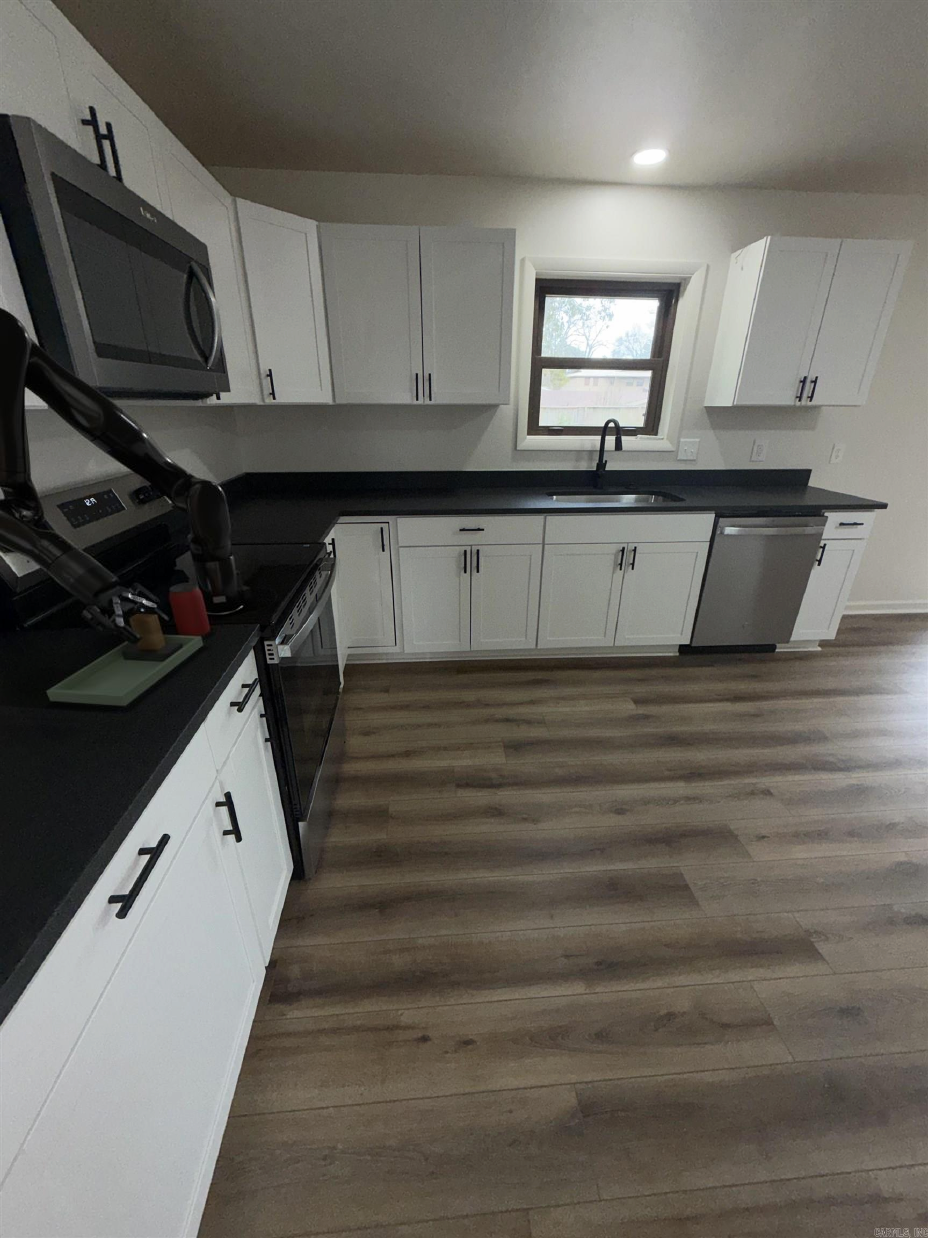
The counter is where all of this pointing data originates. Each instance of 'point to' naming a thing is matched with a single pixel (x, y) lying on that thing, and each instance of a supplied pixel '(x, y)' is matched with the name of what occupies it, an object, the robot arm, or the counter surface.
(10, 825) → the counter surface
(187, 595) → the beer can
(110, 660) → the tray
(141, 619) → the eraser
